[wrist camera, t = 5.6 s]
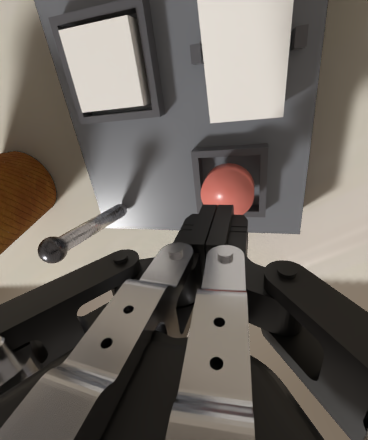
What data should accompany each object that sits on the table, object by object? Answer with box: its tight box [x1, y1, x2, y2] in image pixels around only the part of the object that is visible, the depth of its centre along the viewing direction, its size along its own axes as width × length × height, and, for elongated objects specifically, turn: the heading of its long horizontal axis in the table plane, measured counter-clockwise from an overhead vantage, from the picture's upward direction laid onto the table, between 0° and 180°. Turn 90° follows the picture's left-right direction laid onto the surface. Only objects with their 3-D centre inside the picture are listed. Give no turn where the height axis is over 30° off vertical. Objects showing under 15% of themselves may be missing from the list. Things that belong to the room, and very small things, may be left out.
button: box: [201, 163, 254, 215], centre depth 15 cm, size 3×3×1 cm
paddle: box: [58, 15, 151, 113], centre depth 14 cm, size 4×4×1 cm
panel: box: [34, 0, 328, 234], centre depth 16 cm, size 16×15×4 cm
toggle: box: [38, 204, 127, 263], centre depth 17 cm, size 2×2×7 cm
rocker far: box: [197, 0, 294, 123], centre depth 11 cm, size 6×4×2 cm, turn 7°
